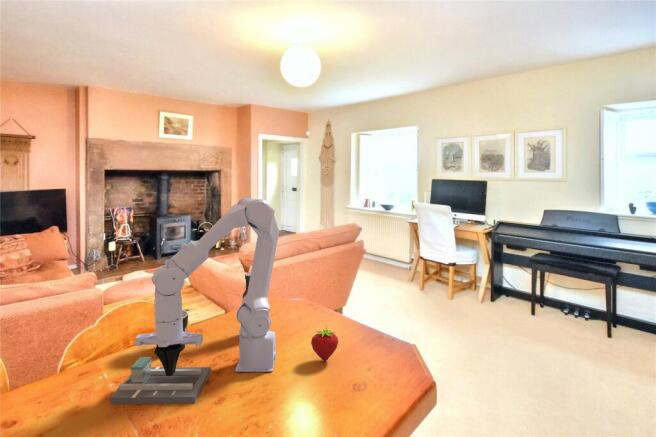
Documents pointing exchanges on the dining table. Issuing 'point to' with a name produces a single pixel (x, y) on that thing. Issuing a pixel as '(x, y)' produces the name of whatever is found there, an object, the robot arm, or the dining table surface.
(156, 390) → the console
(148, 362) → the fader tab
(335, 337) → the strawberry
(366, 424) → the dining table surface
